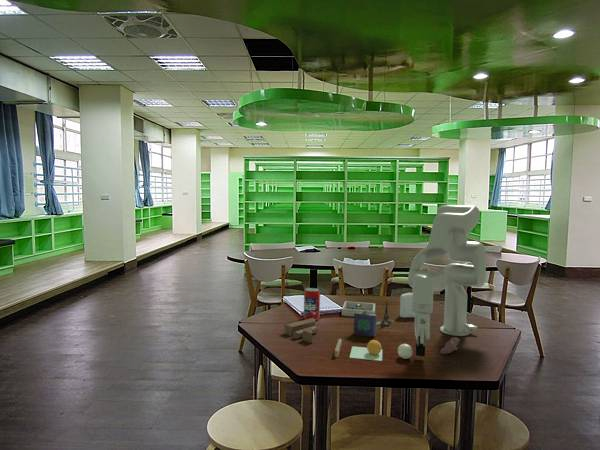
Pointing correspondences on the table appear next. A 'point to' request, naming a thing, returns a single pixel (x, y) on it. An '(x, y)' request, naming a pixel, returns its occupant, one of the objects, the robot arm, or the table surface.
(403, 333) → the table surface
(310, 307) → the soda can
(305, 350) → the table surface
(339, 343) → the stop rail
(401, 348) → the cue ball
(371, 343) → the orange ball
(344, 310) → the cup tray
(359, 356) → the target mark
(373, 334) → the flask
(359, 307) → the grey rounded piece
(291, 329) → the wooden block set
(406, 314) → the photo printer
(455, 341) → the video game controller
